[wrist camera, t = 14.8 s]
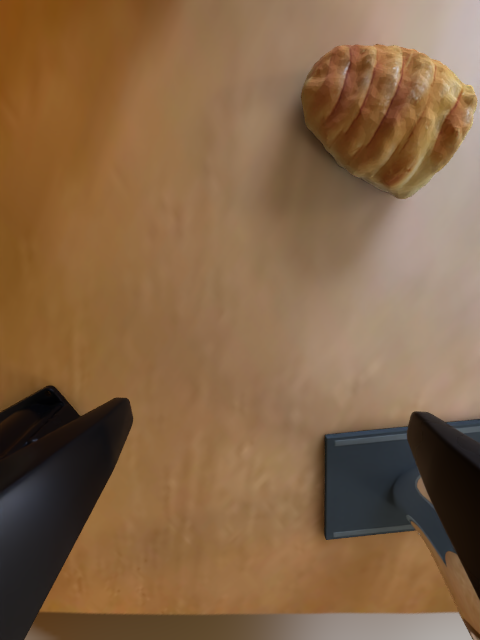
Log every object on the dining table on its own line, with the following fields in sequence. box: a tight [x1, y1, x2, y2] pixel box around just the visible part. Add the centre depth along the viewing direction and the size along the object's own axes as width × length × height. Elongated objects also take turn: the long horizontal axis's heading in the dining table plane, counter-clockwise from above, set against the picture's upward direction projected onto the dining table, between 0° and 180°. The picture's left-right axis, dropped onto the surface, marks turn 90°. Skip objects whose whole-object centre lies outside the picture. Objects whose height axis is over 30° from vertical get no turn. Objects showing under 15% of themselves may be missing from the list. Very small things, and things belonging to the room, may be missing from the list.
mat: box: [324, 419, 480, 540], centre depth 26 cm, size 20×12×1 cm, turn 95°
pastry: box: [301, 44, 477, 199], centre depth 16 cm, size 9×7×4 cm
